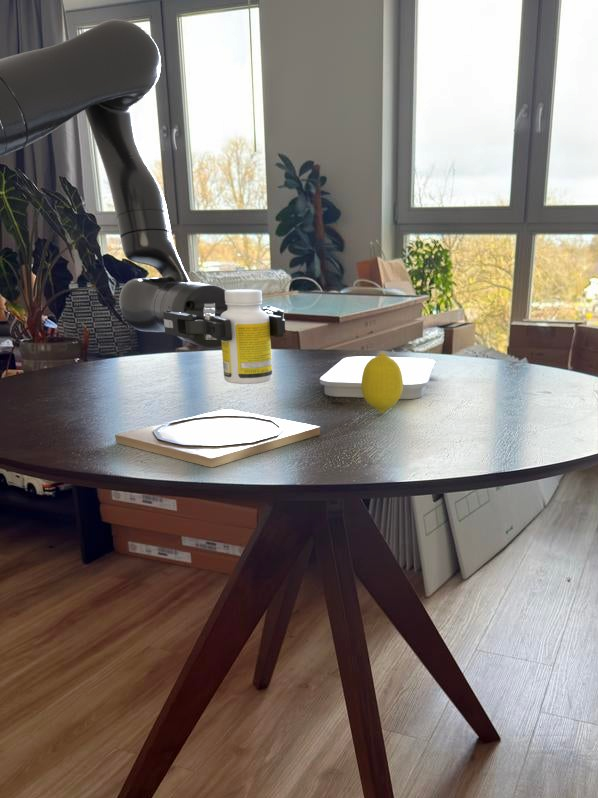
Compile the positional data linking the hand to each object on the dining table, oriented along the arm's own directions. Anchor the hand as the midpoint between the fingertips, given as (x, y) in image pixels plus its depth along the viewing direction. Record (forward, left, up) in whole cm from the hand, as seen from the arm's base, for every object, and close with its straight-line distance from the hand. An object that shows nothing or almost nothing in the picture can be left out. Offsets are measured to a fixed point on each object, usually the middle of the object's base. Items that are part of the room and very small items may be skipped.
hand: (254, 329), depth 78 cm
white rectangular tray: (+39, +11, -13) cm, 43 cm away
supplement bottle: (+1, +2, -6) cm, 7 cm away
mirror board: (-1, +5, -13) cm, 14 cm away
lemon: (+21, -2, -13) cm, 25 cm away
